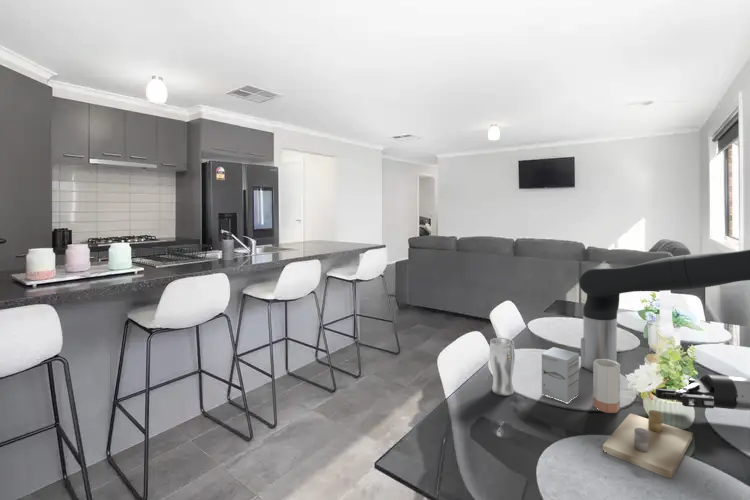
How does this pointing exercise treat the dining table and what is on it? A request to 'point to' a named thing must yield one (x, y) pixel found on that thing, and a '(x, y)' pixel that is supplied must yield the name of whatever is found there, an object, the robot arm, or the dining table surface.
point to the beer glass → (502, 365)
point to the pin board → (649, 443)
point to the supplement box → (560, 374)
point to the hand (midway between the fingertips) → (650, 385)
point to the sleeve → (606, 385)
